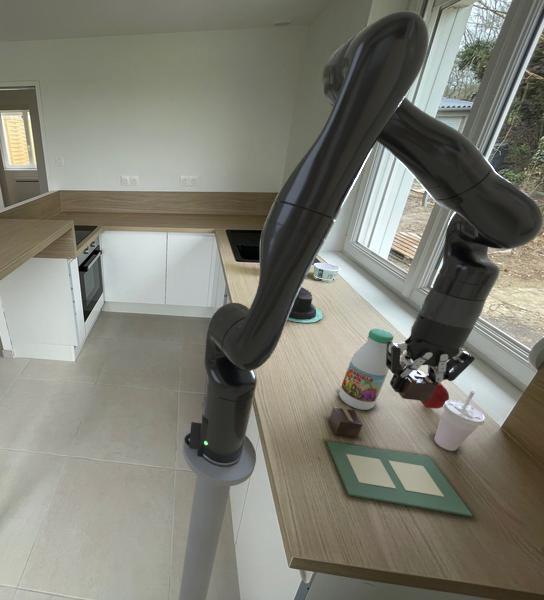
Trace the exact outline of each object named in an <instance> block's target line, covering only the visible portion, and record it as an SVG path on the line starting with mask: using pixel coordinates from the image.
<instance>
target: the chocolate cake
mask: <svg viewBox="0 0 544 600" xmlns="http://www.w3.org/2000/svg"><path fill="white" fill-rule="evenodd" d="M312 302H313V294H312V292H311V291H309V289H306V288H305V287H304V286H301V288H300V290H299V293H298V295H297V297H296V299H295V302H294V304H293V306H292V309H291V312H290V314H289V317H288V319H287V321H290V322H295V323H302V324H303V323H305V324H306V323H316V322H319V321H320V320H322V318H323V316H324V315H323V313H322V311H321V310H320V309H319V308H318V307H315V306H314V305H313V303H312Z"/></svg>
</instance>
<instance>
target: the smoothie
mask: <svg viewBox="0 0 544 600" xmlns="http://www.w3.org/2000/svg"><path fill="white" fill-rule="evenodd" d="M475 393H476V392H475V391H473V390H471V391H470V393H469V394H468V396H467V398H466V399H465V401H461V400H456V399H449V400H447V401H446V402H445V404H444V405H443V407H442V408H443V410H442V414H441V417H440V420H439V424H438V426H437V429H436V432H435V436H434V438H433V439H434V442H435V443H436V444H437V446H439V447H441V448H442V449H444V450H447V451H450V452H455V451H456V450H457V449H458V448H459V447H460V446H461V445H462V444H463V443H464V442H465V441H466V440H467V439H468V437H469V436H470V435H472V434H473V432H474V431H476V429H477V428H478V427H479V426H482V425H485V421H486V419H487V418H486V416H485V414H484V413H483V412H482V411H481V410H479V409H478V408H477V407H475V406H473V405H471V404H470V402H471V401H472V398H473V397H474V395H475Z"/></svg>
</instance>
